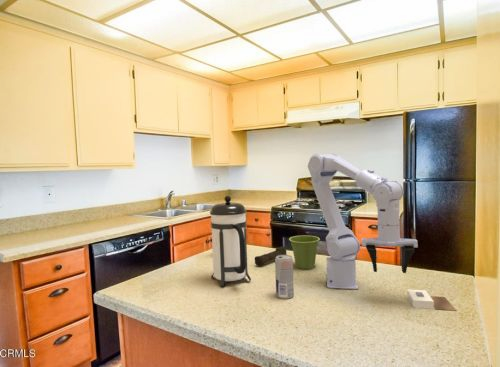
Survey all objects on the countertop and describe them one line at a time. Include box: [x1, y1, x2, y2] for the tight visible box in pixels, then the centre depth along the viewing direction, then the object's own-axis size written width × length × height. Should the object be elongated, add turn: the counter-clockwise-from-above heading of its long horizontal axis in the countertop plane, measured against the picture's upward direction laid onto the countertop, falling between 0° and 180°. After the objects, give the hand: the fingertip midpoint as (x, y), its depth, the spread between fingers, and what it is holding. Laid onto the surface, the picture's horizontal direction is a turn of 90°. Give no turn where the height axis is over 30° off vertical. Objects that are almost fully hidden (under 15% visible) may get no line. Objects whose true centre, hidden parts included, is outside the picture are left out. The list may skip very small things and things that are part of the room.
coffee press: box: [209, 195, 252, 288], centre depth 113 cm, size 17×16×30 cm
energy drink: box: [274, 254, 295, 300], centre depth 99 cm, size 5×5×12 cm
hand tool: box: [254, 246, 288, 267], centre depth 136 cm, size 19×4×5 cm, turn 135°
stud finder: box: [406, 288, 435, 310], centre depth 91 cm, size 5×8×3 cm, turn 165°
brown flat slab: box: [429, 295, 457, 312], centre depth 90 cm, size 5×9×1 cm, turn 166°
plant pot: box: [288, 234, 321, 270], centre depth 127 cm, size 12×12×11 cm
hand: (389, 271), depth 93 cm, fingers open, 7 cm apart
